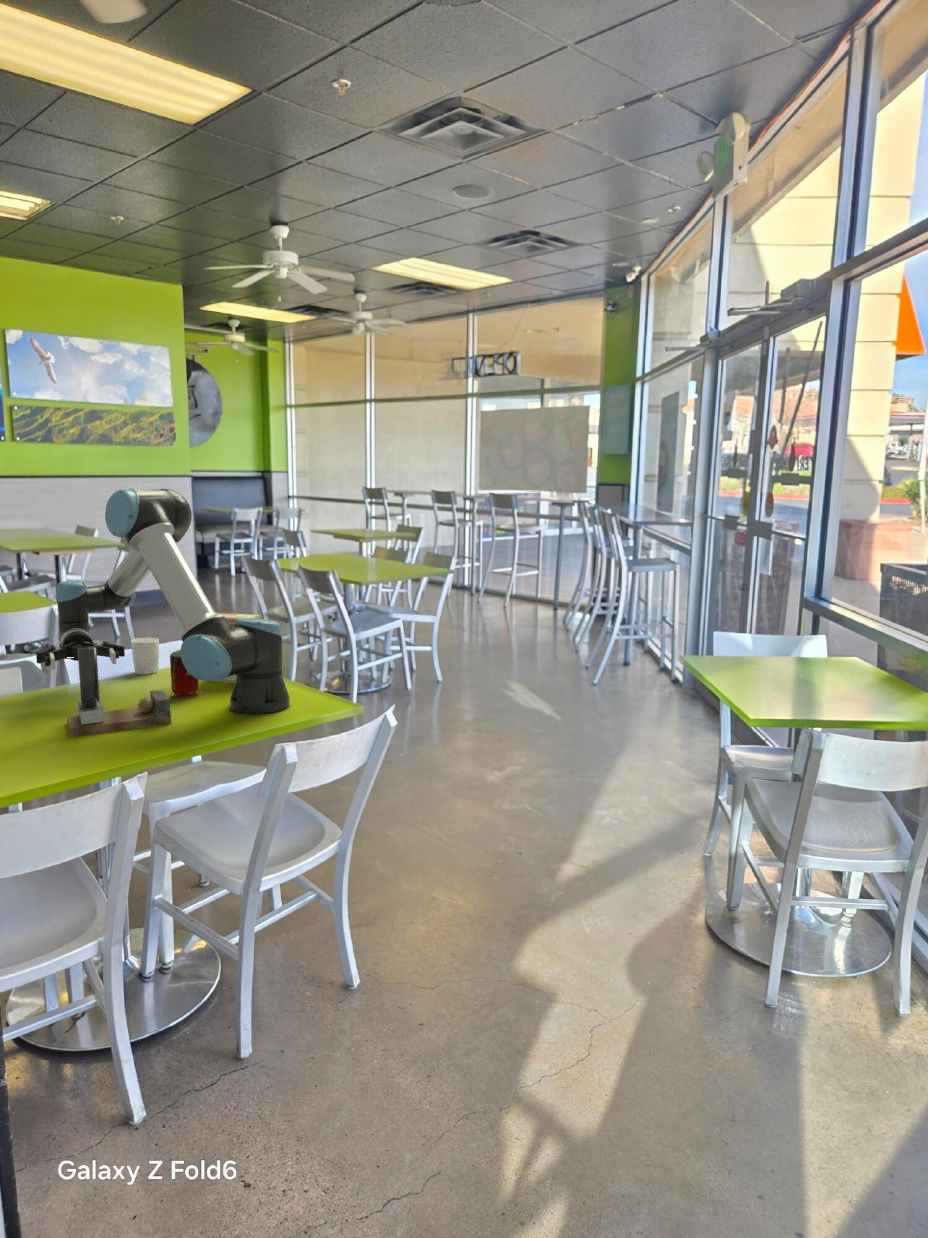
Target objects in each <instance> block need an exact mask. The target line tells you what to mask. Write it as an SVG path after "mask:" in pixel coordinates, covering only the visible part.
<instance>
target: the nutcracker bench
mask: <svg viewBox="0 0 928 1238" xmlns="http://www.w3.org/2000/svg"><path fill="white" fill-rule="evenodd" d="M149 693H150V698H149V697H143V698H142V699H140V700H139V702H138V704H137V707H132V708H131V707H130V708H122V709H115V710H114V709H113V710H106V711H105V710H104V711H105V722H98V723H90V724H81V721H80V718H79V714H71V715H66V722H67V728H68V732H69V735H70V737H74V738H75V737H80V736H88V735H97V734H103V733H109V732H111V733H112V732H118V731H117V730H120V731H124V730H125V731H126V730H133V729H132V728H135V729H141V728H140V727H143V728H148V726H150V727H155V726H154V725H158V726H165V724H166V725H172V713H171V699H170V697H169V696H168V695H167V693H166V692H165V691H164V689H157V690H150V691H149ZM96 733H97V734H96Z"/></svg>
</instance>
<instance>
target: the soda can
mask: <svg viewBox="0 0 928 1238" xmlns="http://www.w3.org/2000/svg"><path fill="white" fill-rule="evenodd" d="M181 656H182V653H181V649H178V650H176V651H173V652H172V653H171V654H170V655H169V664H170V683H171V691H172V694H173V695H174V697H175V698H177V699H178V698H179V699H187V698H188V699H189V698H192V697H196V696H197V693H198V691H199V687H200V686H199V684H200V683H199V681H200V680H199V679H196V678H195V677H193V676H192V675H191V674H190V673H189V672H188V671H187V670H186V668H185V667H184V665H183V662H182V659H181Z"/></svg>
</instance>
